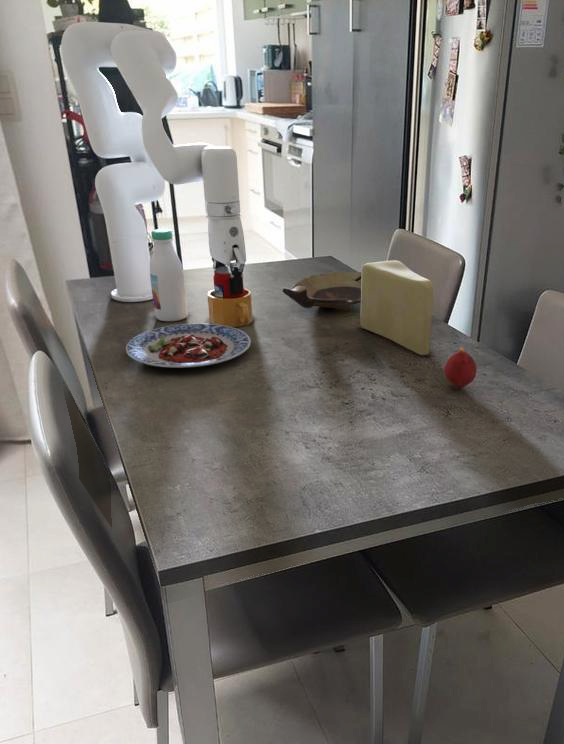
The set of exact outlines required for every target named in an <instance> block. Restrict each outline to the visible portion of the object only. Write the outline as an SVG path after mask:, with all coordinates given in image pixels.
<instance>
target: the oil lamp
mask: <svg viewBox="0 0 564 744" xmlns="http://www.w3.org/2000/svg"><path fill="white" fill-rule="evenodd" d="M361 277H362V271H332V272H322V273H317V274H312V275H310V276H308V277H307V276H306V277H304V278H302V279H300V280H299V281H297V282H296V283H295V284H294V285H293V286H292V288H288V287H283V288H282V290H281V291H282V293H283V294H284V295H286V296H287V297H289V298H290V299H292V301H294V302H295V303H296V304H297V305H299V306H300V307H301V308H303V309H310V308H313V307H317V308H318V307H319V308H326V309H327V308H328V309H330V308H331V309H335V308H345V307H350V306H352V305H357V304H361V282H359V281H360V280H361Z"/></svg>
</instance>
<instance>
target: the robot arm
mask: <svg viewBox="0 0 564 744" xmlns="http://www.w3.org/2000/svg"><path fill="white" fill-rule="evenodd" d="M60 43H61V44H60V53H61V54H60V55H61V59H62V64H63V66H64V69H65V72H66V75H67V76H68V79H69V81H70V83H71V86H72V87H73V90H74V92H75V94H76V98H77V101H78V105H79V109H80V113H81V117H82V120H83V123H84V127H85V131H86V134H87V138H88V140H89V144H90V147H91V149H92V151H93V153H94V154H95V155H96V156H97V157H99V158H102V159H117V158H127V157H129V159H130V161H131V162H123V163H122V162H121V163H114V164H109V165H106V166H104V167H102V168H101V169H100V170H98V172H97V173H96V175H95V179H94V186H95V191H96V194H97V197H98V199H99V200H98V201H99V202H100V205H101V208H102V213H103V216H104V221H105V226H106V233H107V239H108V245H109V251H110V256H111V264H112V270H113V275H114V281H115V289H113V290H112V291H111V292H110V295H111V299H113V300H115V301H117V302H123V303H137V302H138V303H140V302H146V301H150V300H153V295H152V287H151V279H150V261H151V254H150V246H149V239H148V232H147V226H146V222H145V220H144V218H143V216H142V215H141V213H140V212H139V210H138V209H137V206H138V205H141V204H147V203H153V202H157V201H158V200H160V199H161V198H162V197H163V195H164V194H165V189H166V182H167V183H168V184H171V185H185V184H190V183H197V182H198V183H199V182H202V184H203V196H204V206H205V216H206V217H205V218H207V232H208V233H207V234H208V235H207V236H208V247H209V255H210V257H211V261H212V269H213V273H214V274H215V272H216V269H217V268H219V267H224V266H227V267H228V271H229V275H230V277H229V278H228V280H229V293H230V295H232V296H233V295H238V294H242V293H243V287H244V281H243V282H242V276H243V277H244V271H245V270H244V269H245V266H246V262H247V252H246V243H245V234H244V229H243V223H242V220H241V217H242V216H241V203H240V201H241V200H240V187H239V174H238V173H239V172H238V157H237V152H236V150H235V149H234V148H232V147H230V146H215V145H213V144H209V143H205V142H197V143H187V144H179V145H178V144H177V145H174V144H173V143H172V141H171V139H170V138H169V136H168V134H167V133H166V130H165V128H164V125H163V118H165V117H166V116H167V115H168V114H170V112H172V111H173V110H174V108H175V107H176V105H177V103H178V99H179V96H178V92H177V90H176V88H175V87H174V85H173V83H172V81H171V80H170V77H168V76H169V75H171V74H172V73H173V72H174V70H175V69H176V66H177V52H176V50H175V46H174V44H173V43H172V41H171V40H170V38H169V37H168V36H167V35H166V34H164V33H163V32H161V31H158V30H153V29H149V28H145V27H141V26H138V25H134V24H129V23H119V22H103V21H101V22H100V21H81V22H80V21H79V22H76V23H75V22H74V23H73V24H71V25H69V26H67V28H66V29H65V30H64V32H63V34H62V37H61V41H60ZM99 68H117V69H118V71H119V73H120V75H121V76H122V78H123V80H124V81H125V84H126V85H127V87H128V89H129V90H130V92H131V94H132V96H133V97H134V99H135V101H136V102H137V105H138V106H139V107H140V109H141V112H142V114H143V115H142V114H140V113H138V112H135V111H125V112H121V110H120V108H119V105H118V102H117V97H116V94H115V91H114V89H113V87H112V85H111V83H110V82H109V81H108V79H107V78H106V76H105V75H104V74H103V73H102V72H101V71H100V69H99ZM233 266H234V267H235V268H234V270H233V269H232V267H233ZM214 274H213V275H214Z"/></svg>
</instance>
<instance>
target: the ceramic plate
mask: <svg viewBox="0 0 564 744" xmlns="http://www.w3.org/2000/svg"><path fill="white" fill-rule="evenodd" d="M251 342H252V341H251V338H250V336H249V335H248V333H246V332H244V331H243V330H241V329H239V328H236V327H229V326H224V325H218V324H212V323H203V322H202V323H198V322H197V323H181V324H180V323H179V324H173V325H172V324H171V325H166V326H162V327H157V328H153V329H151V330H147V331H144V332H142V333H140V334H138V335H136V336H134V337H133V338H132V339H130V340H129V341H128V343H127V344H126V346H125V352H126V354H127V355H128V357H129V358H131V359H132V360H134V361H136V362H138V363H141V364H144V365H147V366H153V367H160V368H173V369H174V368H175V369H176V368H177V369H179V368H180V369H182V368H183V369H184V368H197V367H205V366H210V365H211V366H212V365H215V364H219V363H224V362H226V361H230V360H232V359H235V358H236V357H237V358H238V356H240V355H242V354H244V353H245V352H247V350H249V348H250V346H251V344H252V343H251Z"/></svg>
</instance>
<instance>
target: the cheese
mask: <svg viewBox="0 0 564 744" xmlns="http://www.w3.org/2000/svg"><path fill="white" fill-rule="evenodd" d="M361 272H362V277H361V282H360V283H361V302H360V327H361V329H363V330H366V331H369V332H371V333H374V334H376V335H377V336H381V337H383V338H386V339H388V340H390V341H392V342H394V343H395V344H397V345H399V346H401V347H403V348H405V349H407V350H409V351H410V352H411V351H412V352H413V353H416V354H417V355H419V356H428V355H429V354H430V347H431V346H430V344H431V331H432V322H433V321H432V319H433V306H434V305H433V303H434V283H433V282H432V281H431V280H430V279H428V278H426V277H423V276H421V275H420V274H418V273H415V272H414V271H413V270H412V269H410V268H409V267H408V266H406V265H405V264H404V263H402V262H401V261H400V260H396V259H395V260H384V261H375V262H374V261H373V262H367V263H365V264H363V265H362V266H361Z"/></svg>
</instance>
